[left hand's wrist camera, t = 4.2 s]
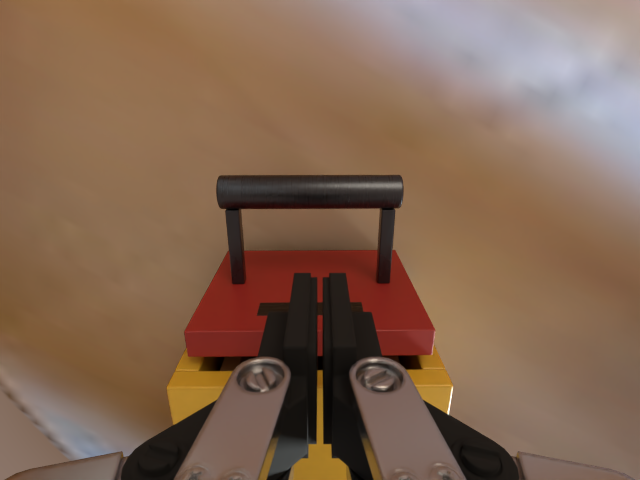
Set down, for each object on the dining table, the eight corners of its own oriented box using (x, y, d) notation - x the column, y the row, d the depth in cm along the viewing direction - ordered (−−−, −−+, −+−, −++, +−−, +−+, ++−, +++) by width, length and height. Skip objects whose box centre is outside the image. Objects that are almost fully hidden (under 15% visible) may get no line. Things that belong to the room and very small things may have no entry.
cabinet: (223, 271, 24) (164, 387, 14) (400, 270, 24) (454, 385, 14) (246, 498, 31) (217, 672, 22) (380, 497, 31) (408, 669, 22)
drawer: (219, 160, 20) (163, 201, 13) (402, 160, 20) (452, 200, 13) (249, 483, 29) (227, 619, 21) (377, 482, 29) (398, 616, 22)
